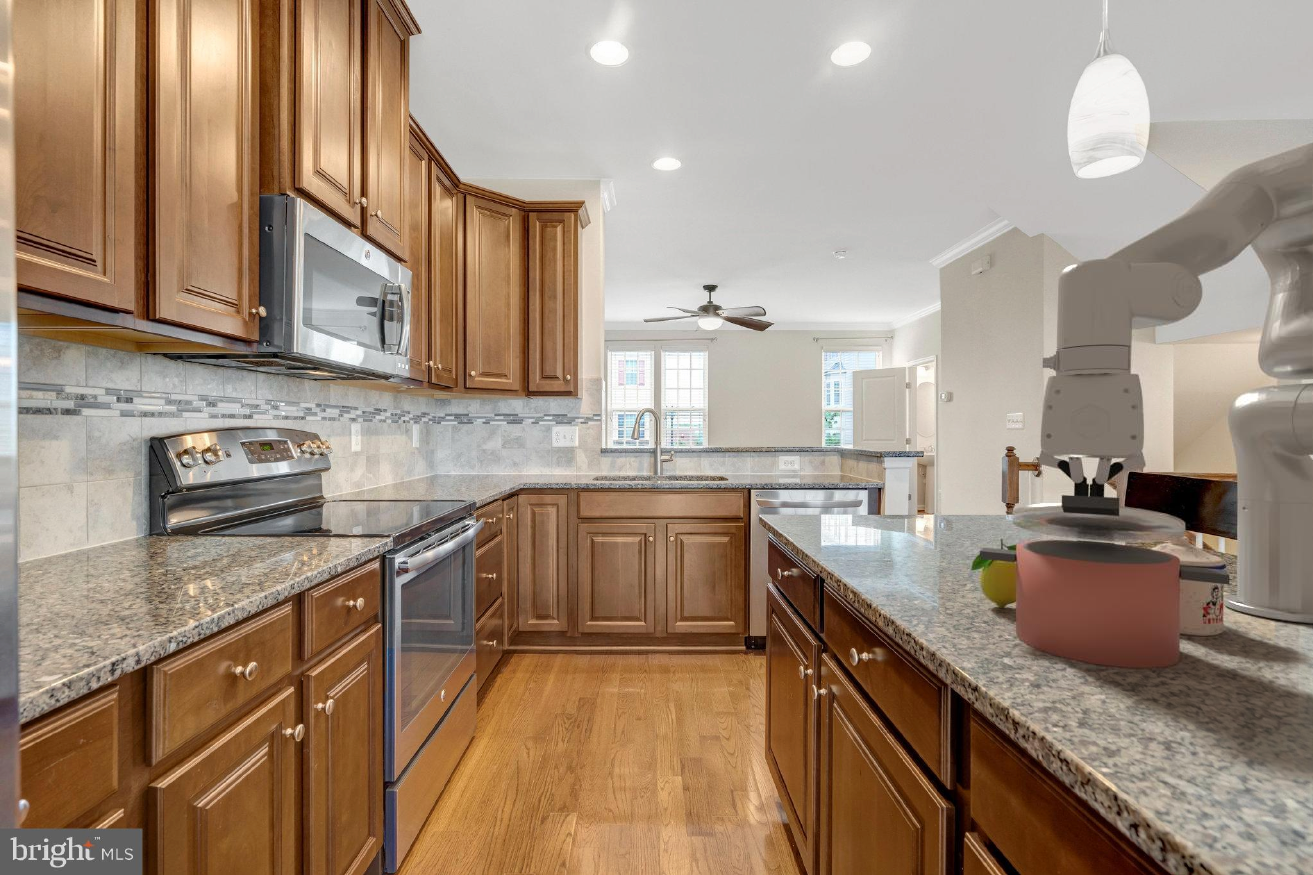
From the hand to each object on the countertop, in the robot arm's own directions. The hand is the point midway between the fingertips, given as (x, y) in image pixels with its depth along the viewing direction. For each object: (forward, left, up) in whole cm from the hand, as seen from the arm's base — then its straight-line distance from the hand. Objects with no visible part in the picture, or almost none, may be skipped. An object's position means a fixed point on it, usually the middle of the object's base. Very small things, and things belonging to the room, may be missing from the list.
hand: (1088, 515), depth 77 cm
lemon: (-10, -10, -15) cm, 21 cm away
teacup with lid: (-15, +9, -15) cm, 23 cm away
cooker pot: (+1, 0, -15) cm, 15 cm away
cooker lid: (+3, +1, -1) cm, 3 cm away
